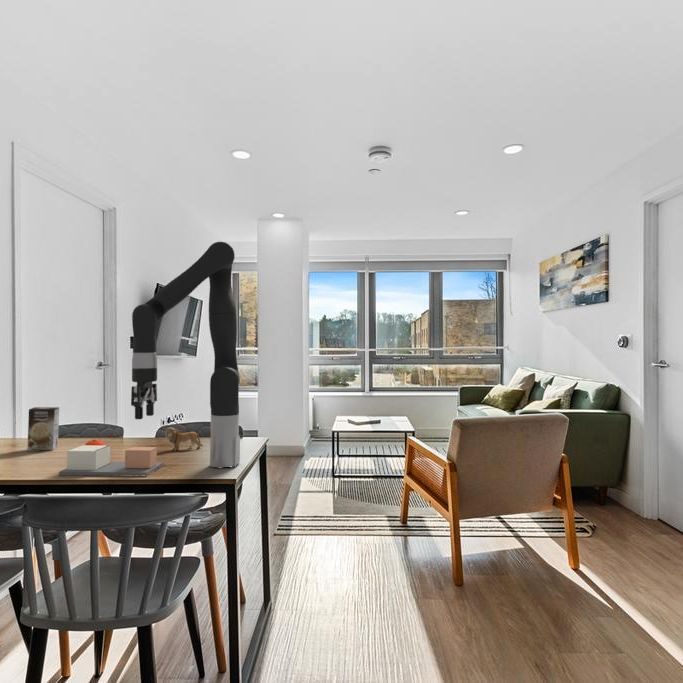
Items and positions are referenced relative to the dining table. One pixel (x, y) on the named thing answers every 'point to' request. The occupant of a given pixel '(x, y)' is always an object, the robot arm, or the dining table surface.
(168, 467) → the dining table surface
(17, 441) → the dining table surface
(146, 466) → the stub
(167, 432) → the lion figurine
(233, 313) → the robot arm
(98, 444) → the clementine
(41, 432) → the coffee box
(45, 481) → the dining table surface
